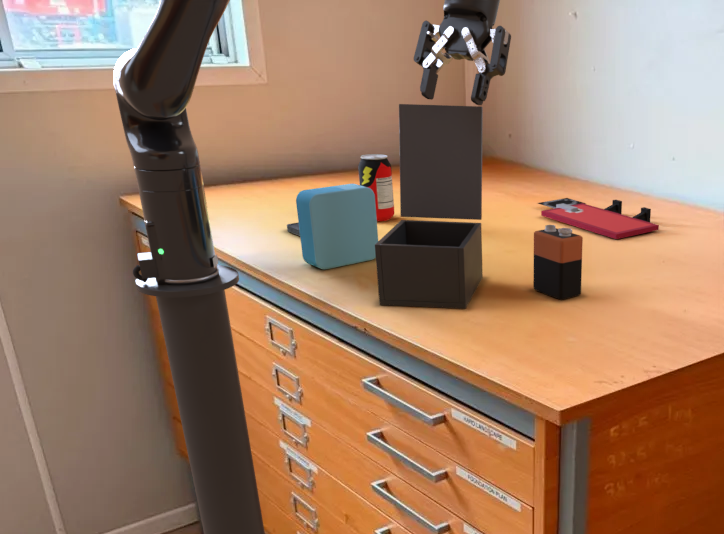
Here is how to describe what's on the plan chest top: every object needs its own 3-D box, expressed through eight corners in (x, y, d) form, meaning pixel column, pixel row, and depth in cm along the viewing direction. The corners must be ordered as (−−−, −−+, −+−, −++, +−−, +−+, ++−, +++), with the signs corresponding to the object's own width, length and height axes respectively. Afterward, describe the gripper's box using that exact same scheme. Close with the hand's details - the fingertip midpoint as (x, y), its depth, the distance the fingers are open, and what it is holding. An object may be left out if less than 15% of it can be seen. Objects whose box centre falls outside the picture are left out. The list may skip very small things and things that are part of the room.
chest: (465, 308, 125) (463, 248, 121) (379, 305, 126) (374, 244, 122) (482, 278, 139) (481, 222, 135) (404, 274, 140) (401, 219, 136)
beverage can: (387, 214, 178) (382, 152, 173) (399, 220, 173) (395, 157, 168) (357, 217, 175) (352, 154, 169) (369, 223, 170) (364, 159, 165)
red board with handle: (573, 201, 192) (519, 210, 183) (573, 188, 190) (518, 197, 182) (671, 229, 172) (616, 241, 163) (672, 215, 170) (616, 226, 162)
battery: (560, 301, 129) (561, 233, 125) (531, 290, 134) (532, 224, 129) (582, 295, 132) (584, 229, 127) (553, 285, 137) (554, 221, 132)
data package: (365, 253, 151) (359, 182, 145) (380, 258, 148) (374, 186, 143) (303, 265, 143) (294, 191, 138) (317, 271, 140) (308, 195, 135)
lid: (481, 106, 130) (482, 107, 131) (398, 103, 131) (400, 104, 132) (480, 219, 135) (481, 219, 135) (400, 216, 135) (401, 216, 136)
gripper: (419, -30, 123) (396, 86, 125) (506, -27, 117) (480, 95, 119) (448, -5, 130) (425, 105, 131) (531, -1, 124) (506, 114, 126)
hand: (451, 100), depth 125 cm, fingers open, 8 cm apart
